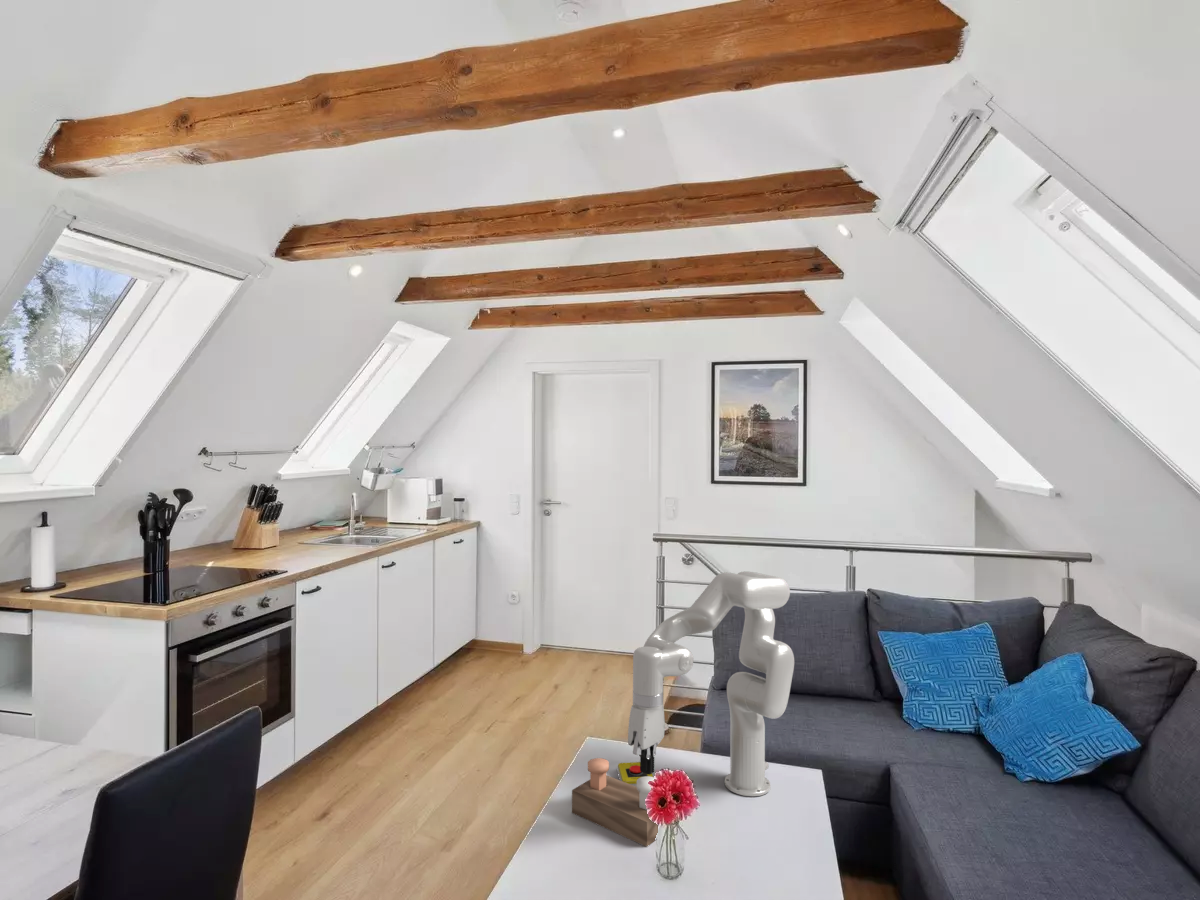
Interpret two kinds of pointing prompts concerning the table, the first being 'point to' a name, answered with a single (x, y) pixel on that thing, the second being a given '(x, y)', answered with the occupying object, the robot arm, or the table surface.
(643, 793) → the white glossy ovoid
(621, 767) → the emergency button
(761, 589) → the robot arm
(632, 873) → the table surface
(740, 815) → the table surface
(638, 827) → the press console
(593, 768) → the peach round knob
